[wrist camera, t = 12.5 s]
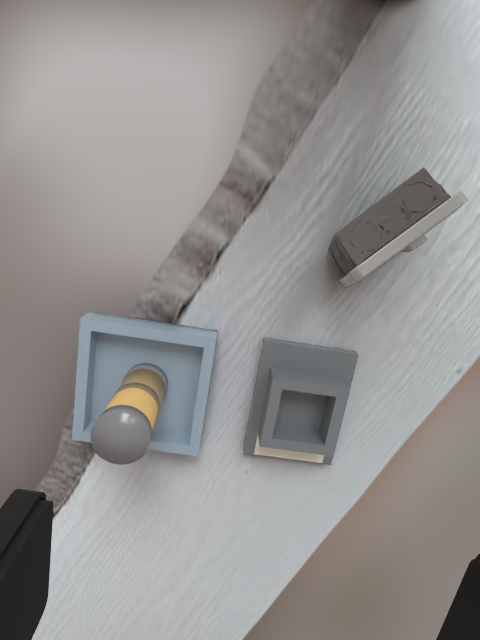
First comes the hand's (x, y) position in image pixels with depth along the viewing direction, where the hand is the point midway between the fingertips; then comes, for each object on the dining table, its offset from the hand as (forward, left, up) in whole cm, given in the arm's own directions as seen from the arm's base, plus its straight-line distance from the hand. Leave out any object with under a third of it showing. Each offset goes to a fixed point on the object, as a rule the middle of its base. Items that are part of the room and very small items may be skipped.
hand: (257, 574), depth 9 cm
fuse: (+9, -7, -29) cm, 32 cm away
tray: (+9, -7, -30) cm, 32 cm away
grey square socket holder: (+9, +8, -30) cm, 32 cm away
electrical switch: (-8, +11, -30) cm, 33 cm away
